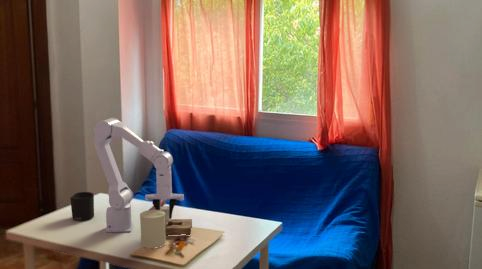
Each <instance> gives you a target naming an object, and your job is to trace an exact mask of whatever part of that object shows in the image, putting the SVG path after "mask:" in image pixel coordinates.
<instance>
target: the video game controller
mask: <svg viewBox="0 0 482 269" xmlns="http://www.w3.org/2000/svg"><path fill="white" fill-rule="evenodd" d="M166 202H167V200H160V207H161V206H165V204H166ZM148 210H156V209H155V207H154V205H152V207H150V208H149V209H148Z"/></svg>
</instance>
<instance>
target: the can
mask: <svg viewBox="0 0 482 269" xmlns="http://www.w3.org/2000/svg"><path fill="white" fill-rule="evenodd" d="M139 220H140V221H139V222H140V246H141V247H142V248H144V247H146V248H145V249H149V248H154V249H156V248H155V247H160V246H162V245H164V244H165V243H166V244H167V240H166V238H167V237H166V235H165V212H164V211H161V210H149V209H148V210H145V211H142V212H140V214H139ZM166 244H165V245H166ZM165 245H164V246H165ZM162 247H163V246H162ZM160 248H161V247H160Z"/></svg>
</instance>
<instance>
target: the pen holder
mask: <svg viewBox="0 0 482 269" xmlns="http://www.w3.org/2000/svg"><path fill="white" fill-rule="evenodd" d="M69 198H70V207H71V208H70V210H71V218H72V220H73V221H74V222H75V221H76V222H86V221H90V220H92V219H94V217H95V196H94V193H93V192H91V191H81V192H76V193H74V194H73V195H71V196H70V197H69Z"/></svg>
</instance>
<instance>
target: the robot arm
mask: <svg viewBox="0 0 482 269" xmlns="http://www.w3.org/2000/svg"><path fill="white" fill-rule="evenodd" d="M93 132H94V137H93V146H94V148H95V152H96V154H97V156H98V160H99V162H100V164H101V168H102V170H103V172H104V176H105V178H106V181H107V183H108V186H109V187H108V190H107V194H108V203H109V204H108V205H109V207H107V208H106V212H105V213H106V215H105V218H106V220H105V221H106V232H107V233H115V232H116V233H123V232H124V233H127V232H128V233H129V232H130V233H131V232H132V230H133V228H134V226H135V223H132V203H131V201H133V198H134V193H133V191H132V190H131V189H130V188H129V186H128V184H127V183H126V182H124V180H123V179H122V175H121V173H120V170H119V167H118V164H117V161H116V159H115V156H114V154H113V150H112V149H111V145H110V143H111V141H112V139H113V138H122V139H124V140H125V141H127V142H128V143H130V144H131V145H133V146H135V148H137V150H138V152H139V154H140V155H142V156H143V157H144V158H146V159H147V160H148V161H150V162H151V163H153V166H154V168H155V169H156V170H155V171H156V172H155V173H156V174H155V176H156V180H155V181H156V193H151V194H145V197H144V199H145V201H148V202H149V201H152V206H154V207H155V209H156V210H160V200H166V201H169V202H168V206H169V210H170V213H169V218H170V219H172V218H173V212H174V211H173V210H174V207H175V205H176V202H177V201H184V200H185V198H184V193H173V185H172V184H173V183H172V181H173V180H172V164H173V162H174V158H173V155H172V154H171V153H170V152H169V151H164V149H161V148H159V147H158V146H156V145H155V142H153V141H152V140H151V141H150V140H143V139H142V138H140V137H139V136H138V134H136V133H135V132H133V131H132V130H131V128H128V127H127V126H126V125H125V123H124V122H122V121H120V120H119V119H118V118H116V117H109V118H107V119H104V120H99V121H98V122H97V123H96V124H95V126H94V128H93Z"/></svg>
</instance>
